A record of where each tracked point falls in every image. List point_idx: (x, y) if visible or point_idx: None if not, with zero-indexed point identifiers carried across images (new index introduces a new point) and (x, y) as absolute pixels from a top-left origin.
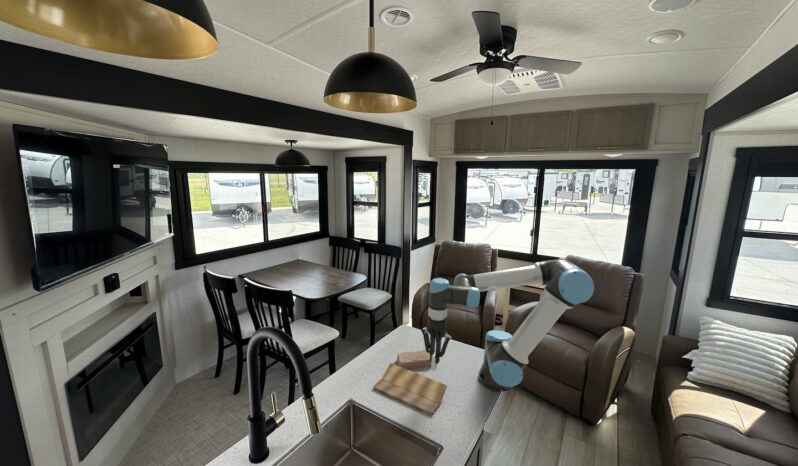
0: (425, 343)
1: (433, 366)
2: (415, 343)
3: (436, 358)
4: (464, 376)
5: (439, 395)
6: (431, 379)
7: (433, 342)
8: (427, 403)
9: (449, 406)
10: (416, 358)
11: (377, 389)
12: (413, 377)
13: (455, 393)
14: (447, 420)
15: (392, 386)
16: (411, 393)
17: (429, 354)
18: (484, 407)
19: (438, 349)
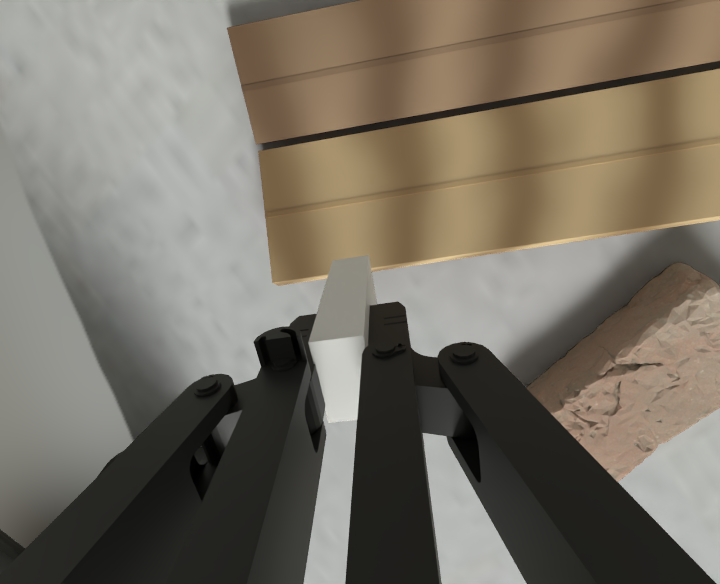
0: (557, 452)
1: (339, 277)
2: (701, 514)
3: (306, 349)
4: None
5: (282, 196)
6: (391, 262)
7: (354, 571)
8: (313, 91)
9: (217, 192)
10: (619, 392)
11: None
12: (527, 205)
13: (261, 308)
14: (146, 77)
15: (632, 46)
16: (462, 92)
17: None
18: (89, 317)
19: (221, 459)
